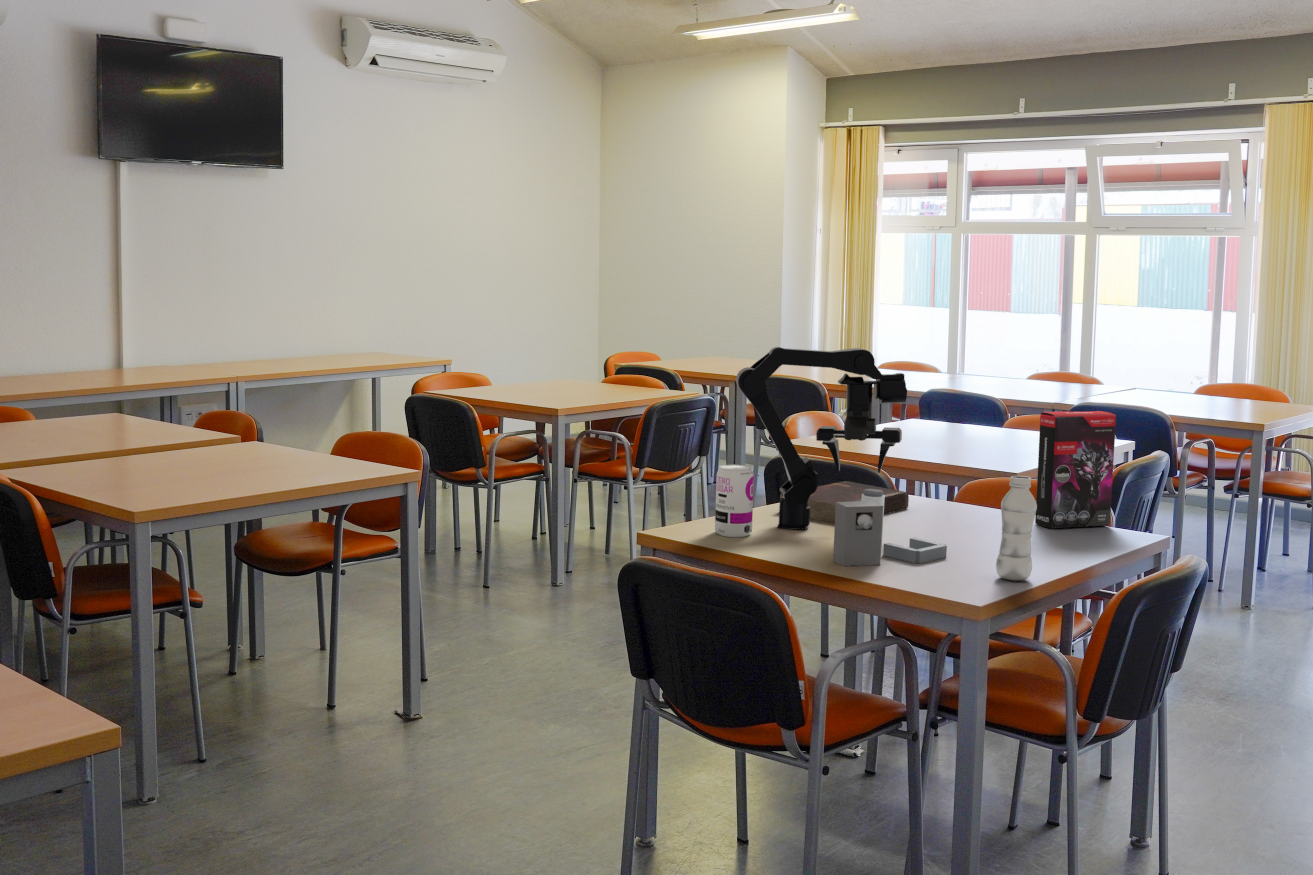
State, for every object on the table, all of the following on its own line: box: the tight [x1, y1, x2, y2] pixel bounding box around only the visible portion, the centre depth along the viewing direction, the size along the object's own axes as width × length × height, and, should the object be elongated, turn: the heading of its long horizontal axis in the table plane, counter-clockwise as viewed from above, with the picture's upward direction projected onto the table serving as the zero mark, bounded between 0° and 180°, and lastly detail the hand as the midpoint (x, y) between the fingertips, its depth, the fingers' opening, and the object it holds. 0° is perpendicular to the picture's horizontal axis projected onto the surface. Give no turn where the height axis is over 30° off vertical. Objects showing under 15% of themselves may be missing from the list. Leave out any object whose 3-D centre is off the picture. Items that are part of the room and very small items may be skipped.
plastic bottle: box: [995, 475, 1037, 582], centre depth 218 cm, size 6×7×20 cm
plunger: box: [856, 512, 873, 529], centre depth 229 cm, size 9×4×4 cm, turn 15°
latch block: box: [832, 501, 884, 567], centre depth 229 cm, size 5×8×12 cm, turn 105°
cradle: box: [882, 537, 948, 564], centre depth 236 cm, size 9×10×2 cm
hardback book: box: [779, 480, 910, 523], centre depth 283 cm, size 29×19×5 cm, turn 138°
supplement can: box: [714, 464, 755, 538], centre depth 252 cm, size 8×8×15 cm
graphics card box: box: [1034, 410, 1117, 529], centre depth 270 cm, size 17×7×27 cm, turn 107°
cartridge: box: [862, 489, 885, 548], centre depth 244 cm, size 5×5×12 cm
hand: (858, 471), depth 260 cm, fingers open, 9 cm apart
